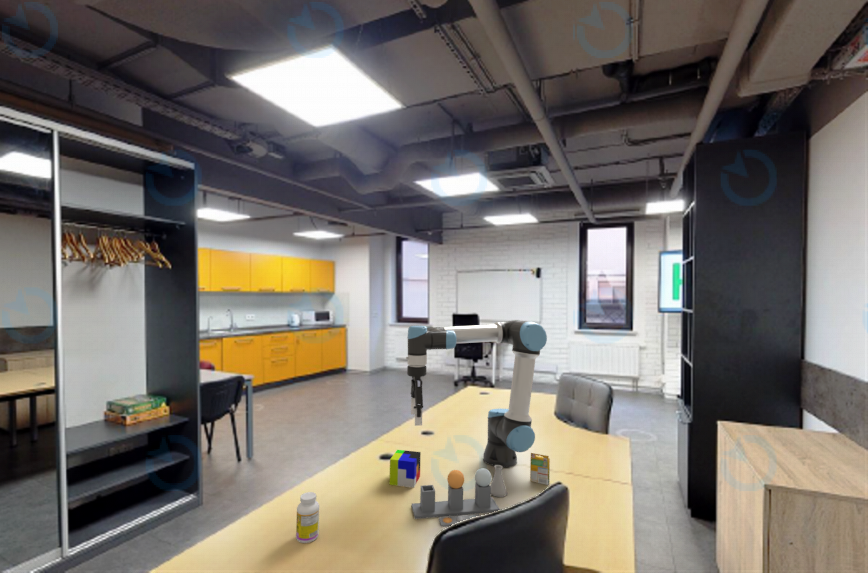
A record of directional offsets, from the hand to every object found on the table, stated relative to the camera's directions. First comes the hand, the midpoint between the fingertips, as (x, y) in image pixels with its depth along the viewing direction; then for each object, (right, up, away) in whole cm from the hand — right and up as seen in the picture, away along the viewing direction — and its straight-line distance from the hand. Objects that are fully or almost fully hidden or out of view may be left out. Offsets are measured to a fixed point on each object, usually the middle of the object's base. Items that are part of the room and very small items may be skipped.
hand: (416, 419), depth 158 cm
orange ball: (+15, -16, -16) cm, 27 cm away
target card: (+16, -26, -23) cm, 39 cm away
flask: (+31, -27, -4) cm, 42 cm away
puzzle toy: (-5, -26, +5) cm, 27 cm away
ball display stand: (+14, -26, -16) cm, 34 cm away
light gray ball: (+24, -16, -14) cm, 33 cm away
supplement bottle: (-32, -25, -34) cm, 53 cm away
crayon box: (+50, -28, +6) cm, 57 cm away
